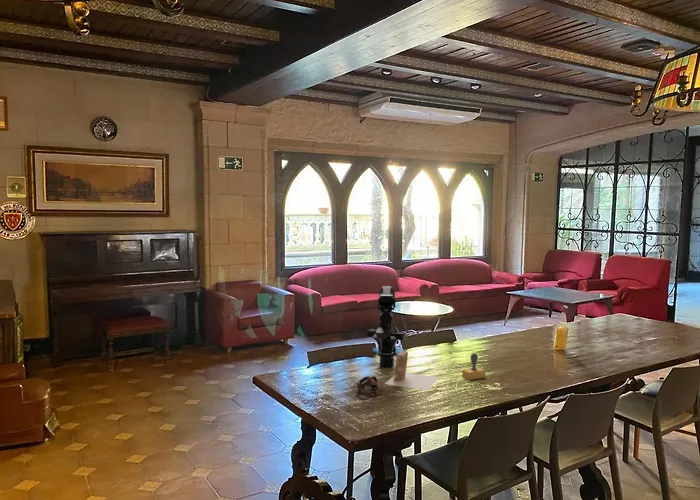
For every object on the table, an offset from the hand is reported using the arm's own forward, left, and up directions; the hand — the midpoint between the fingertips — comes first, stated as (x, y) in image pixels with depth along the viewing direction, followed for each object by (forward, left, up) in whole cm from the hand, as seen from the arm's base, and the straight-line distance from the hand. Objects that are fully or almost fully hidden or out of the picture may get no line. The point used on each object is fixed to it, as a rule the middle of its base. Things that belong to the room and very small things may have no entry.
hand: (386, 351), depth 256 cm
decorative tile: (-14, +43, -14) cm, 47 cm away
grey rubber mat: (+13, 0, -13) cm, 19 cm away
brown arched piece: (0, -22, -13) cm, 25 cm away
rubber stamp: (+39, +19, -13) cm, 45 cm away
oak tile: (+7, 0, -12) cm, 14 cm away
